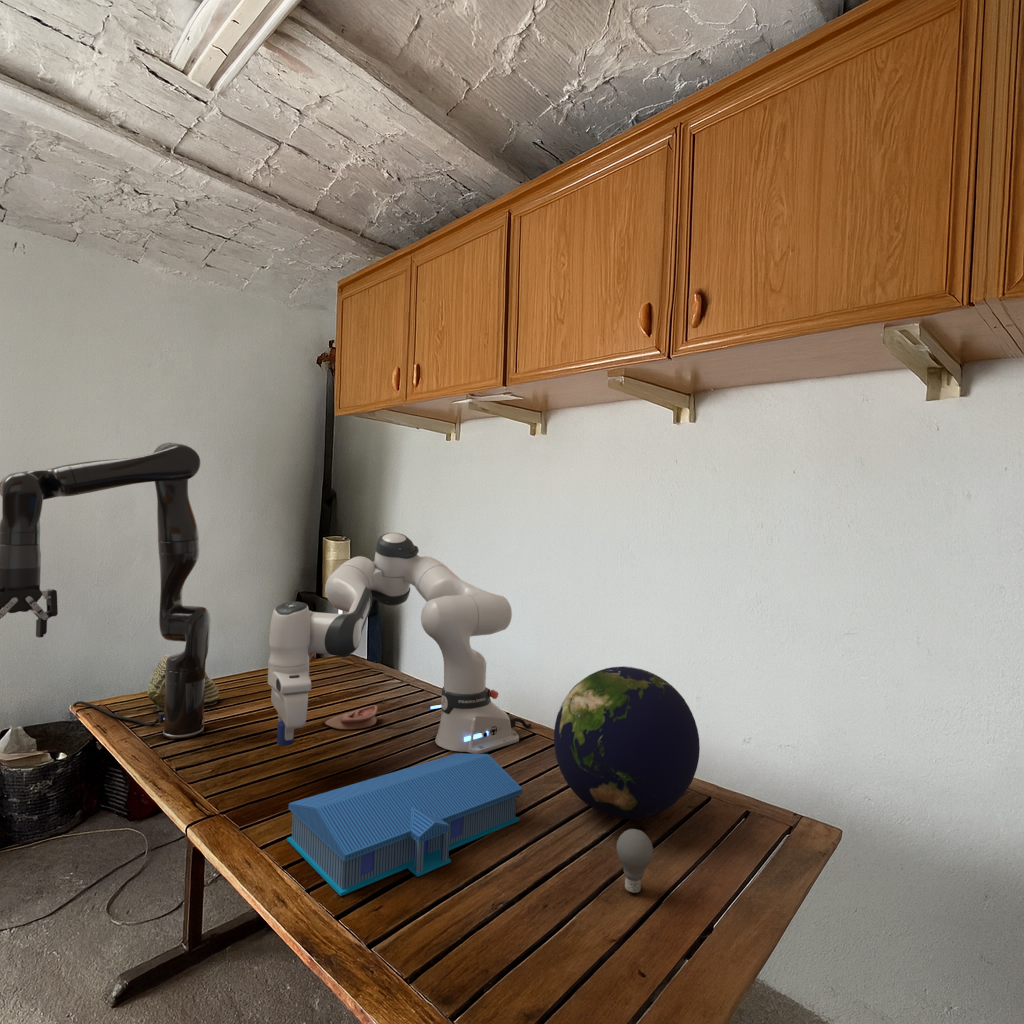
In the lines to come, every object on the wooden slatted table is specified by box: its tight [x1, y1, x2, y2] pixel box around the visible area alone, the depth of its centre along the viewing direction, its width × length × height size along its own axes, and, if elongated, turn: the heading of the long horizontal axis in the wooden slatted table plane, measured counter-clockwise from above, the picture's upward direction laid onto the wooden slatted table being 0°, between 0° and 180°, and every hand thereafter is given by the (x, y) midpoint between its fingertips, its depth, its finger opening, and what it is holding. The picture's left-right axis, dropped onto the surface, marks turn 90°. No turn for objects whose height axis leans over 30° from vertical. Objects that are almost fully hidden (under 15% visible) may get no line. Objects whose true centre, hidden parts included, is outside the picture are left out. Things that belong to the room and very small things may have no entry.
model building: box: [286, 752, 524, 897], centre depth 121 cm, size 39×24×10 cm, turn 132°
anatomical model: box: [324, 704, 378, 730], centre depth 177 cm, size 13×4×12 cm
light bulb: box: [615, 828, 654, 894], centre depth 106 cm, size 6×6×10 cm
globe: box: [553, 665, 700, 820], centre depth 133 cm, size 30×30×30 cm
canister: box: [276, 720, 295, 747], centre depth 144 cm, size 4×4×5 cm
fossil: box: [147, 654, 221, 712], centre depth 185 cm, size 9×18×15 cm, turn 132°
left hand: (16, 639), depth 137 cm, fingers open, 8 cm apart
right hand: (286, 735), depth 144 cm, fingers closed on canister, 4 cm apart
